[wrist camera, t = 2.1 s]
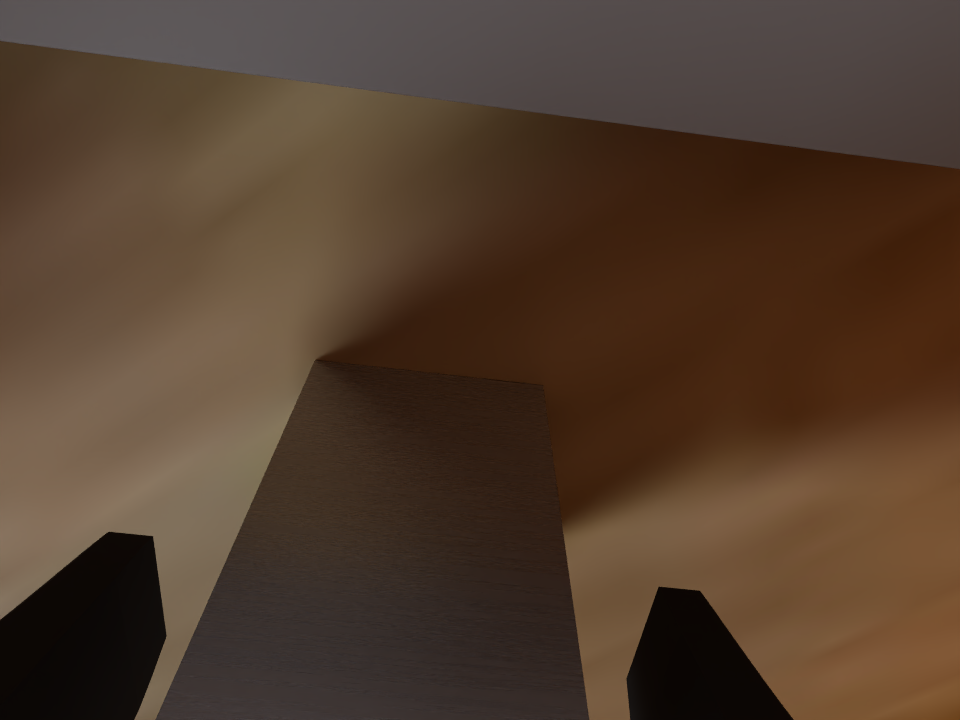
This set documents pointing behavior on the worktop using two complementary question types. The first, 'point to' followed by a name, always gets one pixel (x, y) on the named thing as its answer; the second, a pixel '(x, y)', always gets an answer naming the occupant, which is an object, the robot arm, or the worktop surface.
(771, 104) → the socket plate
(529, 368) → the worktop surface
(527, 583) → the peg
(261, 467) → the worktop surface
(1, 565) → the worktop surface
